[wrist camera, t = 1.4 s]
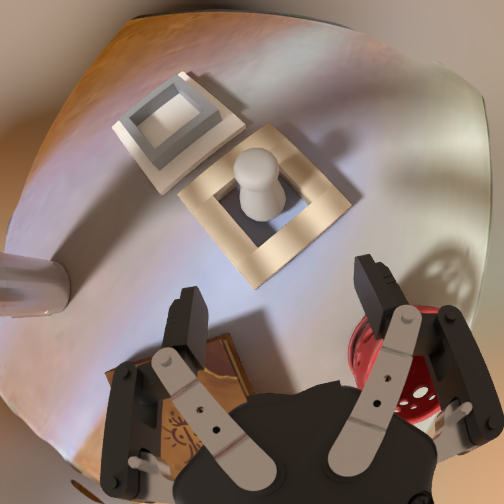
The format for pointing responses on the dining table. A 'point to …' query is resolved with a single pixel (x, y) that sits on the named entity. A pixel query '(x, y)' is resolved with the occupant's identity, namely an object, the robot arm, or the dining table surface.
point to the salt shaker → (259, 184)
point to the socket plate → (176, 130)
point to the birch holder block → (286, 239)
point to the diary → (218, 385)
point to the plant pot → (364, 357)
